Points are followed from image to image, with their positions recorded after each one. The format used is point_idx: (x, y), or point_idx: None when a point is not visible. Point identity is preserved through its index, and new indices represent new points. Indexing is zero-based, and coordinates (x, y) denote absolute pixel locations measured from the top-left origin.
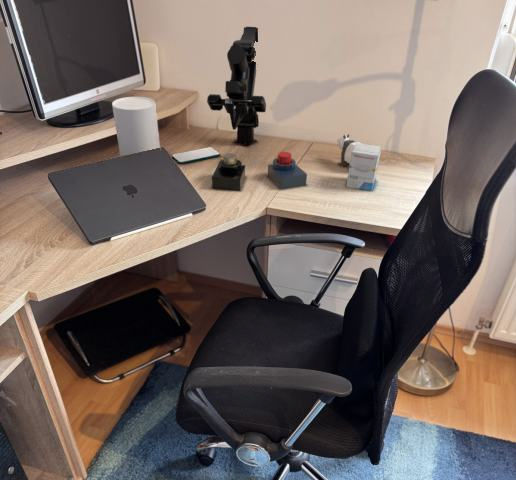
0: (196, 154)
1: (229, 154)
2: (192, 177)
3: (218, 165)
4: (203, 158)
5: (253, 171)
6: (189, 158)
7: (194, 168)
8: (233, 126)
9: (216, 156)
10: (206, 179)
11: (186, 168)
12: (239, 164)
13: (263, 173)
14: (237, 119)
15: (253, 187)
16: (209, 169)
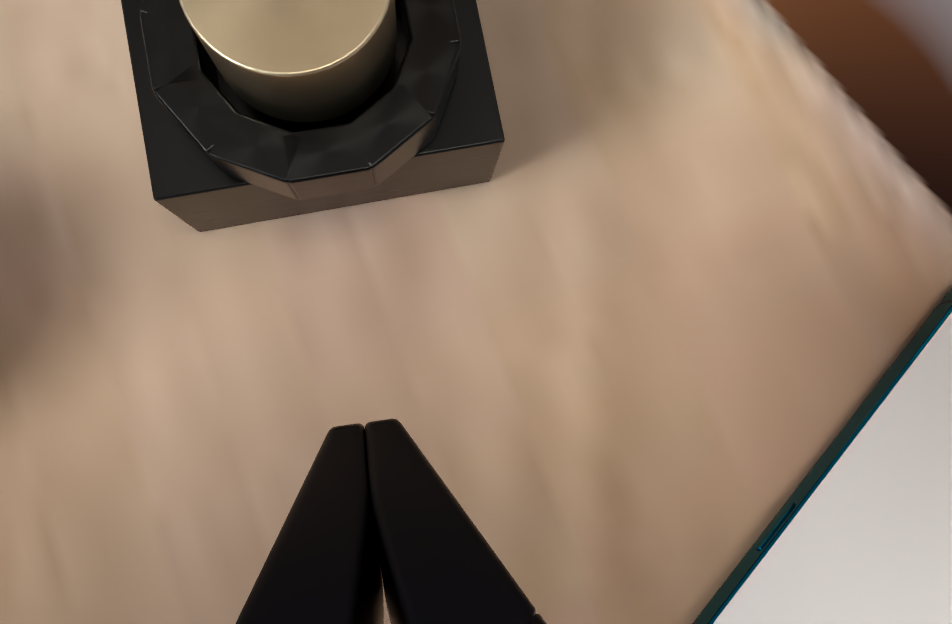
0: (926, 543)
1: (310, 8)
2: (712, 32)
3: (479, 79)
4: (808, 484)
5: (153, 412)
6: (943, 401)
7: (791, 244)
8: (372, 444)
9: (700, 617)
10: (564, 35)
11: (864, 214)
12: (163, 20)
13: (22, 403)
14: (249, 609)
15: (32, 17)
16: (637, 278)
